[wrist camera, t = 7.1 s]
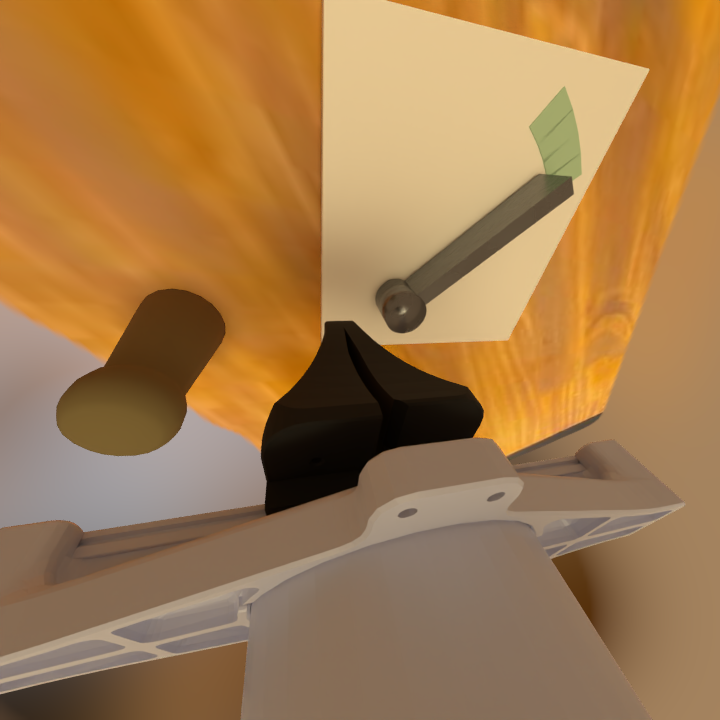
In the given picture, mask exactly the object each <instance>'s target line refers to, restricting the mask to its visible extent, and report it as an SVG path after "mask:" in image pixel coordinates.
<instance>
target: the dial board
mask: <svg viewBox="0 0 720 720" xmlns="http://www.w3.org/2000/svg"><path fill="white" fill-rule="evenodd" d="M649 70H650V69H648V68H644V67H640V66H636V65H632V64H628V63H624V62H621V61H617V60H613V59H609V58H605V57H601V56H598V55H594V54H590V53H586V52H582V51H578V50H575V49H571V48H567V47H563V46H559V45H555V44H551V43H548V42H544V41H540V40H536V39H532V38H528V37H525V36H521V35H517V34H513V33H509V32H505V31H501V30H498V29H494V28H490V27H486V26H482V25H478V24H475V23H471V22H467V21H463V20H459V19H455V18H451V17H448V16H444V15H440V14H436V13H432V12H428V11H425V10H421V9H417V8H413V7H409V6H405V5H402V4H398V3H394V2H390V1H386V0H322V141H321V343H322V340H323V337H324V323H325V322H326V321H354V322H355V323H356V324H357V325H358V326H359V327H360V328H361V329H362V330H363V331H364V332H365V333H366V334H368V335H369V336H370V337H371V338H372V339H373V340H374V341H375V342H377V343H378V344H379V345H390V344H418V343H446V342H474V341H502V340H508V339H509V337H510V335H511V333H512V331H513V329H514V327H515V326H516V324H517V322H518V320H519V318H520V316H521V314H522V312H523V310H524V308H525V306H526V305H527V303H528V301H529V299H530V297H531V295H532V293H533V291H534V289H535V287H536V285H537V284H538V282H539V280H540V278H541V276H542V274H543V272H544V270H545V268H546V266H547V264H548V263H549V261H550V259H551V257H552V255H553V253H554V251H555V249H556V247H557V245H558V243H559V242H560V240H561V238H562V236H563V234H564V232H565V230H566V228H567V226H568V224H569V222H570V221H571V219H572V217H573V215H574V213H575V211H576V209H577V207H578V205H579V203H580V201H581V200H582V198H583V196H584V194H585V192H586V190H587V188H588V186H589V184H590V182H591V180H592V179H593V177H594V175H595V173H596V171H597V169H598V167H599V165H600V163H601V161H602V159H603V158H604V156H605V154H606V152H607V150H608V148H609V146H610V144H611V142H612V140H613V138H614V137H615V135H616V133H617V131H618V129H619V127H620V125H621V123H622V121H623V119H624V117H625V116H626V114H627V112H628V110H629V108H630V106H631V104H632V102H633V100H634V98H635V96H636V95H637V93H638V91H639V89H640V87H641V85H642V83H643V81H644V79H645V77H646V75H647V74H648V72H649ZM538 174H548V175H560V176H572V182H573V190H574V195H572V196H571V197H570V198H568V199H567V200H566V201H564V202H563V203H562V204H560V205H559V206H558V207H556V208H555V209H554V210H552V211H551V212H550V213H548V214H547V215H546V216H544V217H543V218H542V219H540V220H539V221H538V222H536V223H535V224H533V225H532V226H531V227H529V228H528V229H527V230H525V231H524V232H523V233H521V234H520V235H519V236H517V237H516V238H515V239H513V240H512V241H511V242H509V243H508V244H507V245H505V246H504V247H503V248H501V249H500V250H499V251H497V252H496V253H495V254H493V255H492V256H491V257H489V258H488V259H487V260H485V261H484V262H483V263H481V264H480V265H479V266H477V267H476V268H475V269H473V270H472V271H470V272H469V273H468V274H466V275H465V276H464V277H462V278H461V279H460V280H458V281H457V282H456V283H454V284H453V285H452V286H450V287H449V288H448V289H446V290H445V291H444V292H442V293H441V294H440V295H438V296H437V297H436V298H434V299H433V300H432V301H430V302H429V303H428V304H426V308H427V312H426V316H425V319H424V321H423V322H422V323H421V325H420V326H419V327H417V328H416V329H415V330H413V331H411V332H408V333H396V332H393V331H392V330H390V329H389V327H388V326H387V324H386V322H385V320H384V319H383V317H382V315H381V313H380V311H379V309H378V308H377V306H376V302H375V297H376V293H377V291H378V289H379V288H380V286H381V285H382V284H383V283H385V282H386V281H388V280H391V279H402V280H404V281H405V280H406V279H407V278H408V277H410V276H411V275H412V274H413V273H415V272H416V271H417V270H419V269H420V268H421V267H422V266H424V265H425V264H426V263H427V262H429V261H430V260H431V259H432V258H434V257H435V256H436V255H437V254H439V253H440V252H441V251H442V250H444V249H445V248H446V247H447V246H449V245H450V244H451V243H453V242H454V241H455V240H456V239H458V238H459V237H460V236H461V235H463V234H464V233H465V232H466V231H468V230H469V229H470V228H471V227H473V226H474V225H475V224H476V223H478V222H479V221H480V220H481V219H483V218H484V217H485V216H487V215H488V214H489V213H490V212H492V211H493V210H494V209H495V208H497V207H498V206H499V205H500V204H502V203H503V202H504V201H505V200H507V199H508V198H509V197H510V196H512V195H513V194H514V193H515V192H517V191H518V190H519V189H521V188H522V187H523V186H524V185H526V184H527V183H528V182H529V181H531V180H532V179H533V178H534V177H536V176H537V175H538Z"/></svg>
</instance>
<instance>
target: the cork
mask: <svg viewBox="0 0 720 720" xmlns="http://www.w3.org/2000/svg"><path fill="white" fill-rule="evenodd" d="M224 335H225V323H224V321H223V319H222V316H221V314H220V313H219V312H218V311H217V310H216V308H215V307H214V306H213V305H212V304H211V303H209V302H208V301H206V300H205V299H203V298H202V297H201V296H198V295H196V294H193V293H191V292H188V291H184V290H177V289H166V290H158V291H156V292H154V293H152V294H150V295H148V296H147V297H146V298H145V299H144V300H143V302H142V303H141V304H140V306H139V307H138V309H137V311H136V313H135V314H134V316H133V318H132V319H131V321H130V323H129V325H128V326H127V328H126V330H125V332H124V333H123V335H122V337H121V338H120V340H119V342H118V344H117V345H116V347H115V349H114V350H113V352H112V354H111V356H110V357H109V359H108V361H107V362H106V364H105V366H104V367H101V368H98V369H97V370H94V371H92V372H90V373H88V374H86V375H84V376H82V377H81V378H79V379H77V380H76V381H75V382H74V383H73V384H72V385H71V386H70V387H69V388H68V389H67V391H66V392H65V393H64V394H63V395H62V397H61V398H60V401H59V403H58V405H57V410H56V411H57V412H56V419H57V426H58V428H59V429H60V431H61V433H62V434H63V435H64V436H65V437H66V438H67V439H69V440H70V441H72V442H73V443H74V444H76V445H78V446H81V447H83V448H85V449H87V450H90V451H93V452H97V453H100V454H105V455H114V456H133V455H140V454H145V453H149V452H151V451H154V450H156V449H158V448H160V447H162V446H163V445H165V444H166V443H167V442H169V441H170V440H171V439H172V438H173V437H174V436H175V435H176V434H177V433H178V431H179V430H180V429H181V426H182V423H183V421H184V418H185V415H186V412H187V402H186V397H185V395H186V393H187V392H188V390H189V389H190V388H191V386H192V385H193V383H194V382H195V380H196V379H197V377H198V376H199V374H200V373H201V372H202V370H203V369H204V367H205V366H206V364H207V363H208V361H209V360H210V358H211V357H212V356H213V354H214V353H215V351H216V350H217V348H218V347H219V345H220V344H221V343H222V340H223V338H224Z"/></svg>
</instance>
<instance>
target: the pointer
mask: <svg viewBox="0 0 720 720" xmlns="http://www.w3.org/2000/svg"><path fill="white" fill-rule="evenodd" d="M572 195H574V190H573V182H572V176H560V175H548V174H538V175H537V176H536V177H534V178H533V179H532V180H531V181H529V182H528V183H527V184H526V185H524V186H523V187H522V188H521V189H519V190H518V191H517V192H515V193H514V194H513V195H512V196H510V197H509V198H508V199H507V200H505V201H504V202H503V203H502V204H500V205H499V206H498V207H497V208H495V209H494V210H493V211H492V212H490V213H489V214H488V215H487V216H485V217H484V218H483V219H481V220H480V221H479V222H478V223H476V224H475V225H474V226H473V227H471V228H470V229H469V230H468V231H466V232H465V233H464V234H463V235H461V236H460V237H459V238H458V239H456V240H455V241H454V242H453V243H451V244H450V245H449V246H447V247H446V248H445V249H444V250H442V251H441V252H440V253H439V254H437V255H436V256H435V257H434V258H432V259H431V260H430V261H429V262H427V263H426V264H425V265H424V266H422V267H421V268H420V269H419V270H417V271H416V272H415V273H413V274H412V275H411V276H410V277H408V278H407V279H406V280H405V281H404V280H402V279H391V280H388V281H386V282H385V283H383V284H382V285H381V286H380V288H379V289H378V291H377V293H376V297H375V302H376V306H377V308H378V309H379V311H380V313H381V315H382V317H383V319H384V320H385V322H386V324H387V326H388V327H389V329H390V330H392V331H393V332H396V333H408V332H411V331H413V330H415V329H416V328H417V327H419V326H420V325H421V323H422V322H423V321H424V319H425V316H426V312H427V308H426V304H428V303H429V302H430V301H432V300H433V299H434V298H436V297H437V296H438V295H440V294H441V293H442V292H444V291H445V290H446V289H448V288H449V287H450V286H452V285H453V284H454V283H456V282H457V281H458V280H460V279H461V278H462V277H464V276H465V275H466V274H468V273H469V272H470V271H472V270H473V269H475V268H476V267H477V266H479V265H480V264H481V263H483V262H484V261H485V260H487V259H488V258H489V257H491V256H492V255H493V254H495V253H496V252H497V251H499V250H500V249H501V248H503V247H504V246H505V245H507V244H508V243H509V242H511V241H512V240H513V239H515V238H516V237H517V236H519V235H520V234H521V233H523V232H524V231H525V230H527V229H528V228H529V227H531V226H532V225H533V224H535V223H536V222H538V221H539V220H540V219H542V218H543V217H544V216H546V215H547V214H548V213H550V212H551V211H552V210H554V209H555V208H556V207H558V206H559V205H560V204H562V203H563V202H564V201H566V200H567V199H568V198H570V197H571V196H572Z"/></svg>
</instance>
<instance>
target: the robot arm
mask: <svg viewBox="0 0 720 720" xmlns="http://www.w3.org/2000/svg"><path fill="white" fill-rule="evenodd" d="M483 413H484V410H483V408H482V406H481V404H480V403H479V402H478V400H477V399H476V398H475V396H474V395H473V394H472V392H471V391H470V390H469V388H468V387H466V386H462V385H459V384H456V383H453V382H449V381H446V380H443V379H440V378H438V377H435V376H433V375H430V374H428V373H426V372H423V371H421V370H419V369H417V368H415V367H413V366H411V365H409V364H407V363H406V362H404V361H402V360H401V359H399V358H397V357H396V356H394V355H393V354H391V353H390V352H388V351H387V350H386V349H384V348H383V347H382V346H380V345H379V344H378V343H377V342H375V341H374V340H373V339H372V338H371V337H370V336H369V335H368V334H366V333H365V332H364V331H363V330H362V329H361V328H360V327H359V326H358V325H357V324H356V323H355V322H354V321H326V322H325V323H324V337H323V340H322V343H321V346H320V348H319V350H318V352H317V355H316V357H315V358H314V360H313V362H312V364H311V365H310V367H309V368H308V370H307V371H306V372H305V374H304V375H303V376H302V378H301V379H300V380H299V381H298V382H297V383H296V384H295V385H294V386H293V388H292V389H291V390H290V391H289V392H288V393H286V394H285V395H284V396H283V397H282V398H281V399H279V400H278V401H277V402H276V403H274V405H273V408H272V410H271V412H270V415H269V417H268V420H267V423H266V426H265V429H264V433H263V438H262V447H261V460H262V464H263V468H264V472H265V476H266V480H267V486H266V498H265V504H263V505H256V506H250V507H244V508H238V509H230V510H224V511H218V512H212V513H205V514H198V515H192V516H186V517H179V518H173V519H167V520H160V521H154V522H148V523H141V524H135V525H129V526H122V527H116V528H109V529H103V530H96V531H90V532H83V531H82V529H81V528H80V527H79V526H78V525H76V524H75V523H72V522H70V521H61V520H56V521H46V522H40V523H32V524H25V525H18V526H12V527H5V528H1V529H0V694H2V693H6V692H10V691H15V690H19V689H23V688H27V687H31V686H35V685H39V684H43V683H48V682H52V681H56V680H61V679H65V678H70V677H74V676H78V675H83V674H88V673H92V672H97V671H102V670H106V669H111V668H116V667H121V666H125V665H130V664H135V663H140V662H145V661H150V660H155V659H160V658H165V657H170V656H175V655H180V654H185V653H190V652H195V651H200V650H205V649H210V648H215V647H220V646H225V645H230V644H234V643H240V642H245V641H248V647H247V658H246V669H245V680H244V691H243V701H242V712H241V720H652V718H651V717H650V715H649V713H648V712H647V710H646V709H645V707H644V706H643V704H642V702H641V701H640V699H639V698H638V696H637V695H636V693H635V692H634V690H633V688H632V687H631V685H630V684H629V682H628V681H627V679H626V677H625V676H624V674H623V673H622V671H621V669H620V668H619V666H618V665H617V663H616V661H615V660H614V659H613V657H612V655H611V654H610V652H609V650H608V649H607V647H606V646H605V644H604V643H603V641H602V639H601V638H600V636H599V635H598V633H597V632H596V630H595V628H594V627H593V625H592V624H591V622H590V620H589V619H588V618H587V616H586V614H585V613H584V611H583V609H582V608H581V606H580V605H579V603H578V602H577V600H576V598H575V597H574V595H573V594H572V592H571V590H570V589H569V587H568V586H567V584H566V583H565V581H564V579H563V578H562V577H561V575H560V573H559V572H558V571H557V568H556V567H555V565H554V564H553V562H552V561H551V558H554V557H557V556H560V555H563V554H566V553H569V552H573V551H576V550H579V549H582V548H585V547H589V546H592V545H595V544H599V543H602V542H606V541H609V540H613V539H617V538H620V537H624V536H628V535H630V534H632V533H634V532H636V531H638V530H640V529H642V528H644V527H646V526H648V525H649V524H651V523H653V522H655V521H657V520H659V519H661V518H662V517H665V516H666V515H668V514H670V513H672V512H674V511H676V510H678V509H680V508H681V507H683V506H685V502H684V501H683V500H681V498H679V497H678V496H677V495H676V494H675V493H674V492H673V491H672V490H670V489H669V488H668V487H667V486H666V485H665V484H664V483H662V482H661V481H660V480H659V479H658V478H657V477H656V476H655V475H654V474H653V473H651V472H650V471H649V470H648V469H647V468H645V466H644V465H642V464H641V463H640V462H639V461H638V460H637V459H636V458H634V457H633V456H632V455H631V454H630V453H629V452H628V451H627V450H626V449H624V448H623V447H622V446H621V445H620V444H619V443H618V442H617V441H615V440H612V439H610V440H603V441H596V442H591V443H588V444H586V445H584V446H583V447H581V448H580V449H579V450H578V451H577V452H576V454H575V456H569V457H563V458H557V459H550V460H544V461H537V462H531V463H524V464H518V465H511V463H510V462H509V460H508V459H507V458H506V456H505V455H504V453H503V452H502V450H501V449H500V448H499V446H498V445H497V444H496V443H495V442H494V441H493V440H492V439H487V438H473V436H474V434H475V433H476V431H477V429H478V428H479V426H480V424H481V421H482V419H483Z"/></svg>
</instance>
